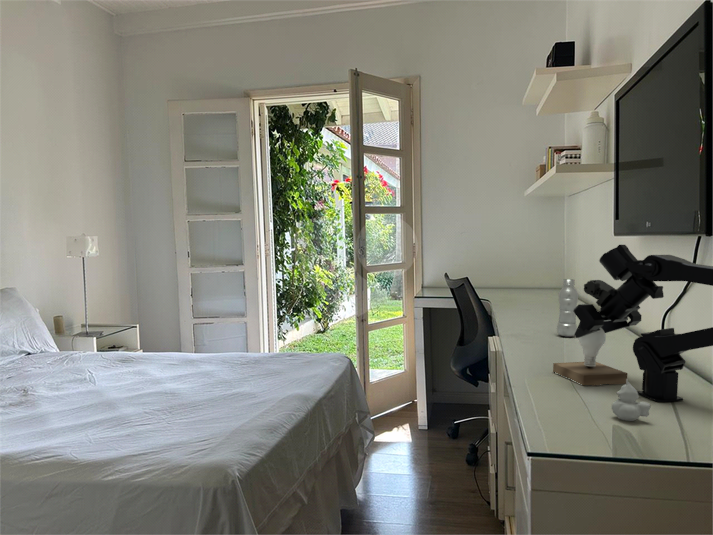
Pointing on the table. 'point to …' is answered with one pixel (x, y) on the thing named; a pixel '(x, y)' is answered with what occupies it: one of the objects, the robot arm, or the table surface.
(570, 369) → the walnut plinth
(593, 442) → the table surface
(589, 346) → the lightbulb
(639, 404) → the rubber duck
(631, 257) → the robot arm
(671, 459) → the table surface
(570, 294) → the plastic bottle
